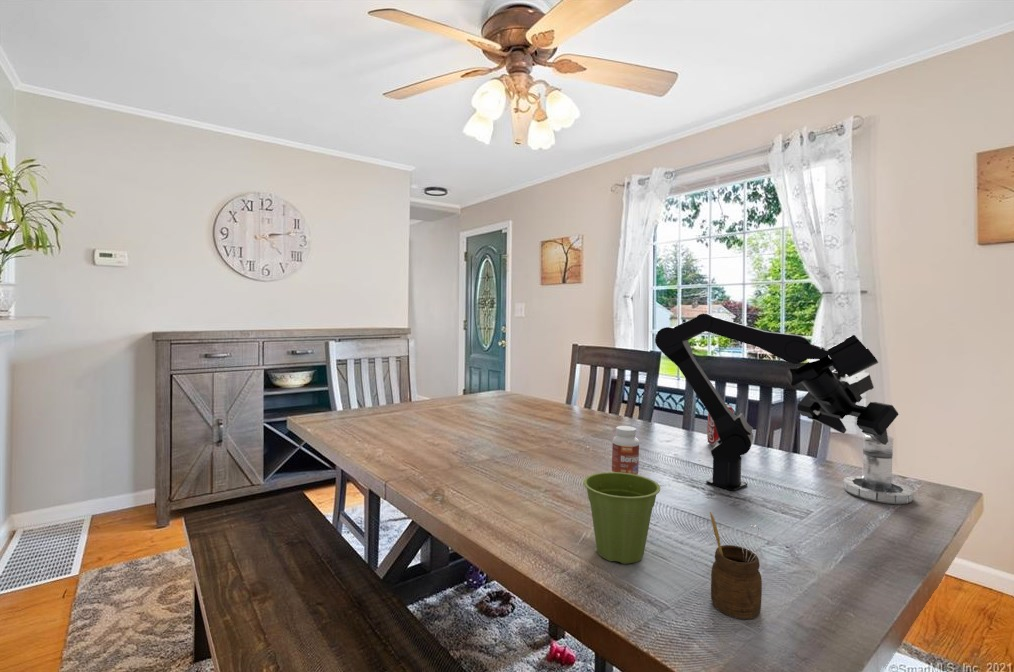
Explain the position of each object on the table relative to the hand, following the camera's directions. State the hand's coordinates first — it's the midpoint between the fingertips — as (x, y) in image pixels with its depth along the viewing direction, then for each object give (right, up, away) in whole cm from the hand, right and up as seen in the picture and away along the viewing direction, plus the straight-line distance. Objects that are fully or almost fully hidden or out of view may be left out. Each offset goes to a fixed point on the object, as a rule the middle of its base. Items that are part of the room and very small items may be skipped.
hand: (864, 437), depth 101 cm
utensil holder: (-46, -14, -39) cm, 62 cm away
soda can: (-14, -11, +38) cm, 42 cm away
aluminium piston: (+3, -12, +1) cm, 12 cm away
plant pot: (-58, -13, -25) cm, 65 cm away
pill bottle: (-48, -12, +12) cm, 51 cm away
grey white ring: (+3, -12, +1) cm, 13 cm away
